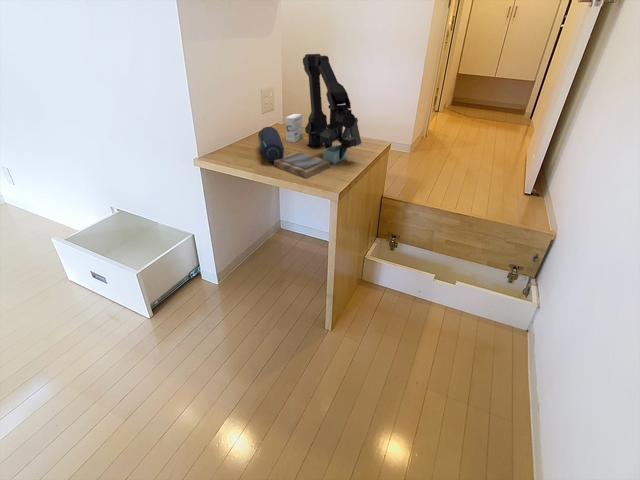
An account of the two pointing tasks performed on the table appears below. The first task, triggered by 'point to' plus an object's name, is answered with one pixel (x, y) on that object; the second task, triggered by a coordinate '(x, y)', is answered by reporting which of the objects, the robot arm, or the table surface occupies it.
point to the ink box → (293, 127)
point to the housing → (333, 154)
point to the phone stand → (353, 132)
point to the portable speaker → (270, 144)
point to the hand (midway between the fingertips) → (334, 157)
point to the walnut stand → (302, 164)
